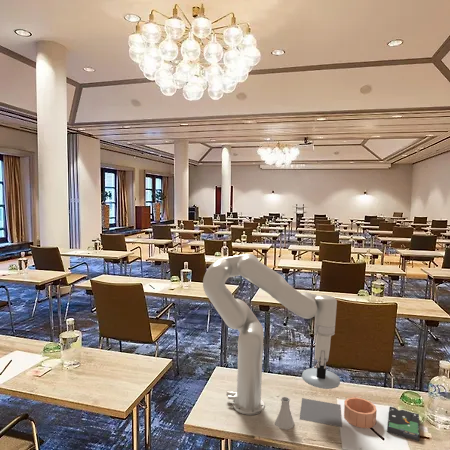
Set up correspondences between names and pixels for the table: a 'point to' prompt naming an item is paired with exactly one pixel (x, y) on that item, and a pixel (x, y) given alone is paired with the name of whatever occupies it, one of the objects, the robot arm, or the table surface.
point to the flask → (285, 415)
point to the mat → (321, 412)
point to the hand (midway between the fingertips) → (320, 375)
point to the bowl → (354, 410)
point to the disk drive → (403, 423)
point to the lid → (327, 383)
